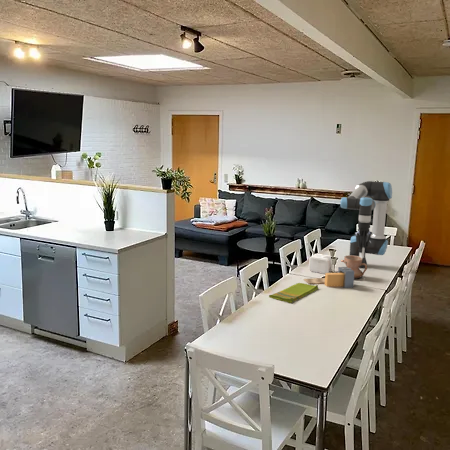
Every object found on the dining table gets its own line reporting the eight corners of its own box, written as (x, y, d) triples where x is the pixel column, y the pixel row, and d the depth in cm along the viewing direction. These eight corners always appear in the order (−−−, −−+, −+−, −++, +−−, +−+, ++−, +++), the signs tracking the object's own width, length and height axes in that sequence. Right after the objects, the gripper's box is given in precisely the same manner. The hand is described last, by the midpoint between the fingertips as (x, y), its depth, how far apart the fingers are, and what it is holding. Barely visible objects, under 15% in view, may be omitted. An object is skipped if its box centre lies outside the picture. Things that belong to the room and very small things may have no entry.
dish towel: (268, 298, 275) (268, 293, 274) (297, 284, 303) (297, 280, 302) (290, 304, 266) (291, 298, 265) (318, 289, 293) (319, 284, 293)
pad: (331, 278, 316) (331, 277, 316) (337, 283, 306) (337, 282, 306) (303, 279, 312) (303, 278, 312) (309, 284, 302) (309, 283, 302)
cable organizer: (333, 271, 334) (334, 256, 332) (328, 275, 325) (329, 259, 323) (313, 268, 342) (314, 253, 339) (307, 271, 333) (308, 255, 331)
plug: (350, 284, 305) (351, 272, 304) (353, 286, 301) (354, 274, 299) (324, 284, 303) (325, 272, 301) (326, 286, 298) (327, 274, 297)
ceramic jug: (336, 277, 319) (338, 257, 316) (341, 272, 332) (343, 253, 329) (363, 282, 311) (365, 262, 308) (367, 276, 324) (369, 257, 321)
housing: (345, 282, 308) (347, 265, 306) (353, 287, 298) (354, 270, 296) (337, 283, 307) (338, 266, 304) (344, 288, 296) (345, 270, 294)
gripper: (368, 220, 303) (365, 255, 307) (352, 221, 297) (349, 256, 301) (376, 222, 296) (373, 257, 300) (360, 223, 290) (357, 259, 294)
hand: (361, 257), depth 301 cm, fingers closed
